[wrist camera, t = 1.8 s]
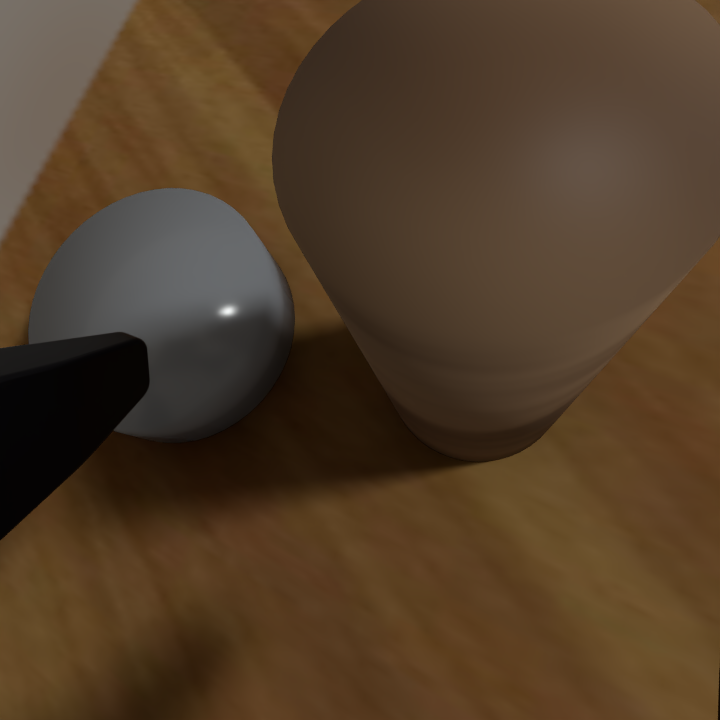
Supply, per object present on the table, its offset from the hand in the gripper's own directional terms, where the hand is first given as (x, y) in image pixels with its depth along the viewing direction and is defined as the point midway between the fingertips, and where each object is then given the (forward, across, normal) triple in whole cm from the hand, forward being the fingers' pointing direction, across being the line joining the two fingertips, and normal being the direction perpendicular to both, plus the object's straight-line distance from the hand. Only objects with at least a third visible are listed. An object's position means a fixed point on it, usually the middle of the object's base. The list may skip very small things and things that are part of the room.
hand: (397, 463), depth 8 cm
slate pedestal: (+9, +11, +6) cm, 16 cm away
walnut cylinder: (+11, 0, +4) cm, 12 cm away
